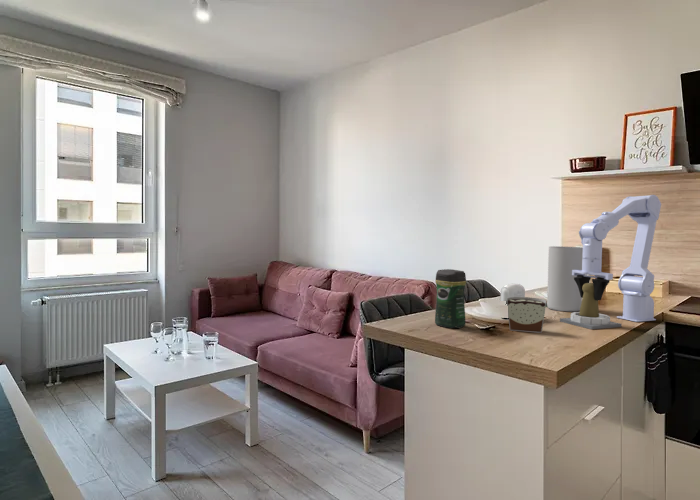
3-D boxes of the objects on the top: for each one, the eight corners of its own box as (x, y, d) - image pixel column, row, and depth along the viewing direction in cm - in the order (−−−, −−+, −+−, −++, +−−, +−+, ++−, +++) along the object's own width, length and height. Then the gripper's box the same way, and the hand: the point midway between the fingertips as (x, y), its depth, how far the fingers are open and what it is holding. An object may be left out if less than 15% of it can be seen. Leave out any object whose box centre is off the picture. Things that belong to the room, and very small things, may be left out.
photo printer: (515, 315, 164) (516, 282, 163) (526, 317, 160) (526, 283, 160) (497, 318, 158) (498, 283, 158) (508, 320, 155) (508, 285, 154)
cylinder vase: (587, 312, 171) (589, 247, 170) (555, 311, 171) (557, 247, 170) (572, 306, 184) (573, 246, 182) (541, 306, 184) (543, 246, 183)
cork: (575, 313, 152) (577, 281, 151) (591, 313, 153) (593, 282, 152) (586, 317, 146) (589, 284, 145) (603, 317, 147) (605, 284, 146)
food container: (545, 329, 141) (546, 298, 141) (547, 333, 135) (548, 300, 135) (504, 326, 145) (505, 295, 145) (504, 329, 139) (505, 298, 139)
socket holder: (588, 319, 157) (588, 310, 157) (621, 326, 145) (621, 317, 145) (559, 321, 153) (560, 312, 153) (591, 329, 141) (591, 320, 141)
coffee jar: (469, 326, 143) (470, 270, 142) (453, 330, 139) (454, 271, 138) (446, 321, 151) (447, 267, 150) (430, 324, 147) (431, 268, 146)
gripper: (565, 257, 154) (564, 296, 154) (601, 260, 140) (600, 302, 141) (581, 257, 156) (579, 295, 157) (618, 260, 142) (616, 301, 143)
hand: (590, 298), depth 149 cm, fingers closed on cork, 5 cm apart
